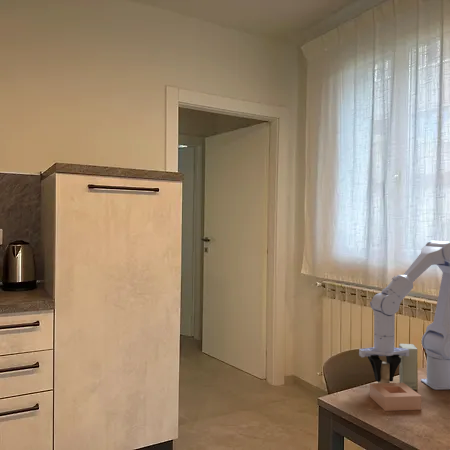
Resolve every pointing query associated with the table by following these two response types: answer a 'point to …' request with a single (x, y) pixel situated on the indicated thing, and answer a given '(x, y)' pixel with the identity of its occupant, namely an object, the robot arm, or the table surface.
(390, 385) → the socket block
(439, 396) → the table surface
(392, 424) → the table surface
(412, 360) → the skincare box
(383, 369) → the beech peg
